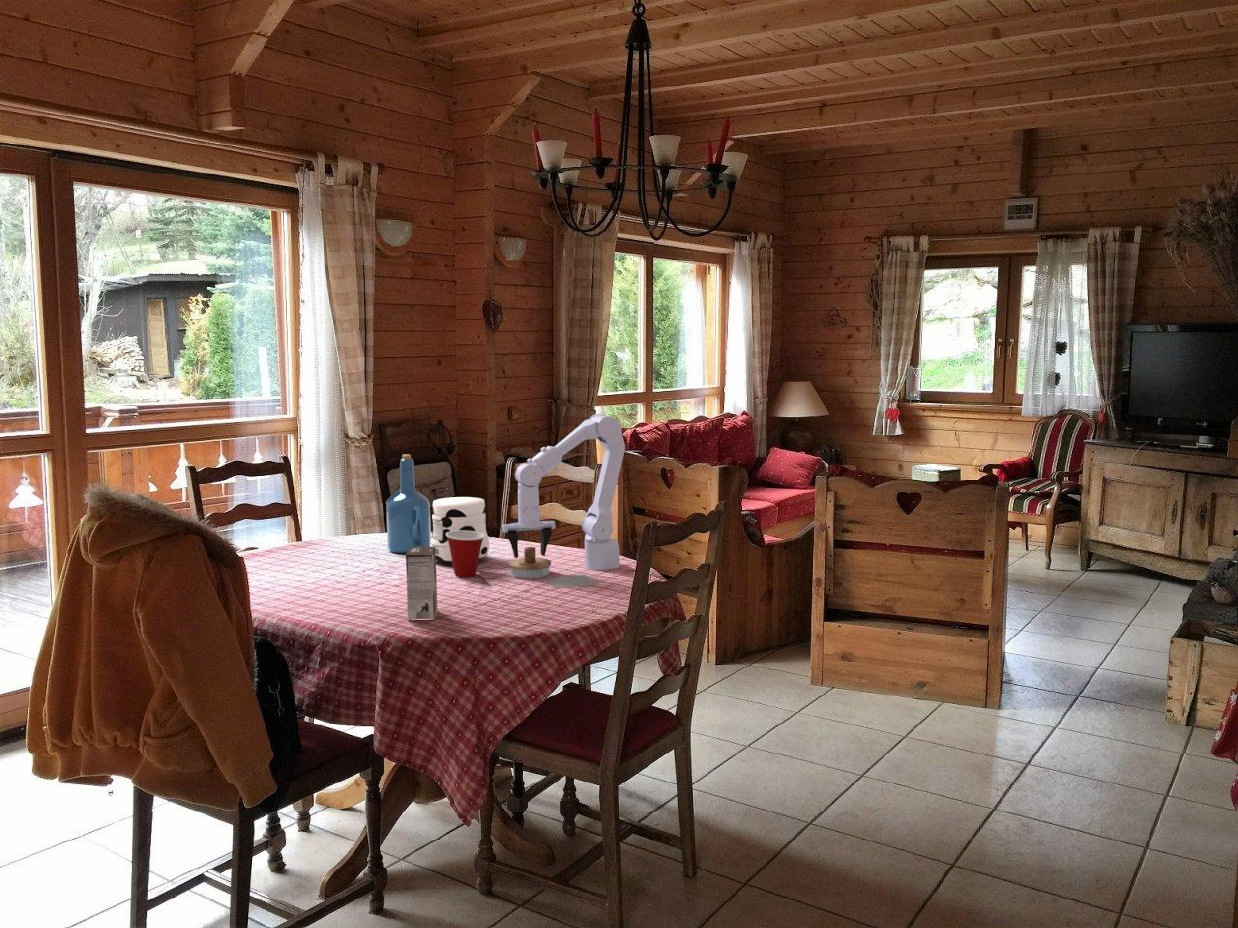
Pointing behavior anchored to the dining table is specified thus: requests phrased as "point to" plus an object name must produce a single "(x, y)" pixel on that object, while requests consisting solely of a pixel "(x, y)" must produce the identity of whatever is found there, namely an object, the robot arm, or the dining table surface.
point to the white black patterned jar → (457, 523)
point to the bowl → (529, 573)
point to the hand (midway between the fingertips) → (529, 556)
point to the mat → (570, 581)
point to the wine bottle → (407, 513)
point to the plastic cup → (465, 551)
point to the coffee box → (421, 582)
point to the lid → (529, 561)
